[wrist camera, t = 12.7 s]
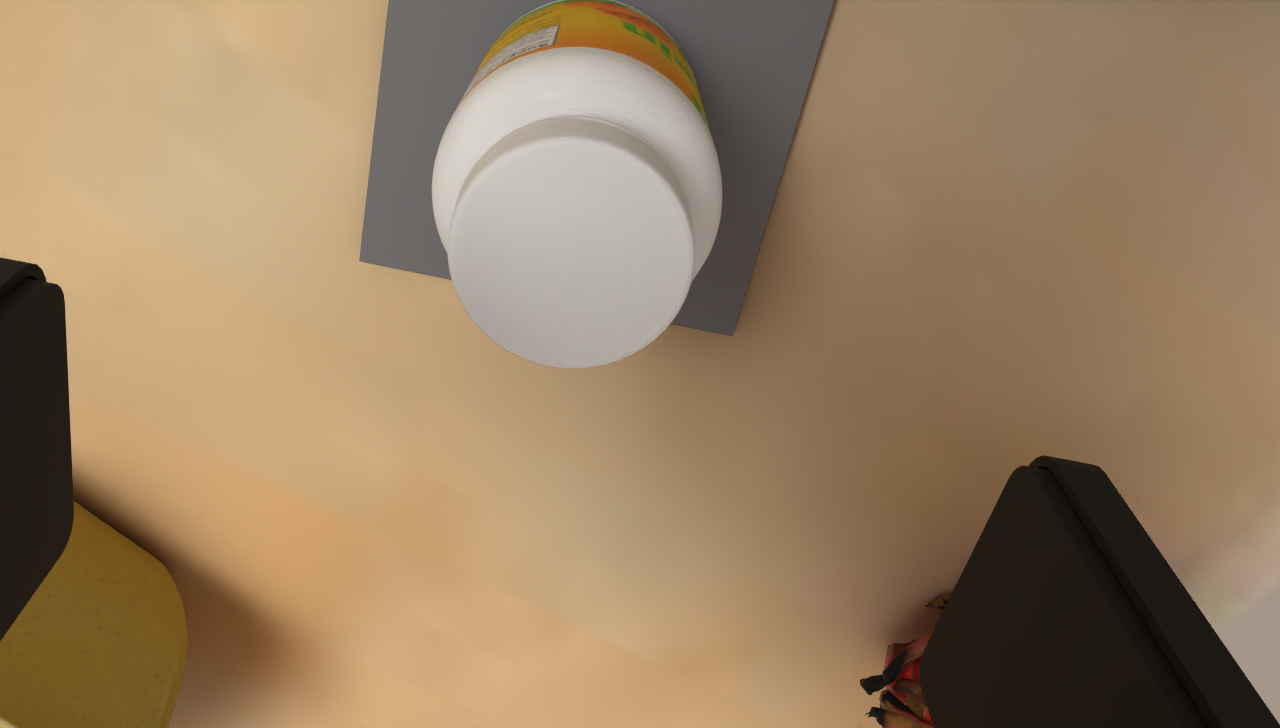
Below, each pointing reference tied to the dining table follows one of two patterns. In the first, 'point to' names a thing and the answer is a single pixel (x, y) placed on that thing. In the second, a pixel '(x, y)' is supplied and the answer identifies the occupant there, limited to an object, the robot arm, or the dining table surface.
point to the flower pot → (96, 639)
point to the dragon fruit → (902, 683)
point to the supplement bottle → (577, 185)
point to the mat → (727, 83)
